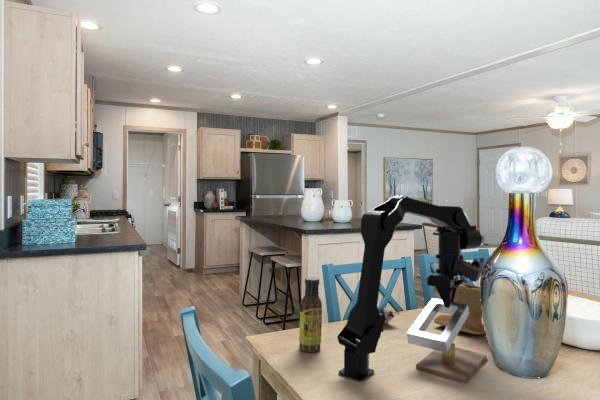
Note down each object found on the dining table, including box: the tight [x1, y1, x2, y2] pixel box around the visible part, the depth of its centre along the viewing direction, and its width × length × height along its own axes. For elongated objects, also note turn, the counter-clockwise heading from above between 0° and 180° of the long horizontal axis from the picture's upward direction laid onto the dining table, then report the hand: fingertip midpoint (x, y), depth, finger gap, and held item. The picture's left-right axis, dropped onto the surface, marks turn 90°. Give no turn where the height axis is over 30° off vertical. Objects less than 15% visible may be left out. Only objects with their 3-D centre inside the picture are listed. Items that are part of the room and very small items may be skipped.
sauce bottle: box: [298, 276, 323, 353], centre depth 113 cm, size 6×6×20 cm
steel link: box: [406, 297, 469, 353], centre depth 107 cm, size 18×10×3 cm, turn 140°
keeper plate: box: [415, 342, 488, 384], centre depth 104 cm, size 18×12×6 cm, turn 141°
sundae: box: [377, 304, 400, 326], centre depth 135 cm, size 7×7×15 cm
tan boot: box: [433, 282, 486, 336], centre depth 130 cm, size 15×12×15 cm
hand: (448, 306), depth 113 cm, fingers closed on steel link, 2 cm apart
